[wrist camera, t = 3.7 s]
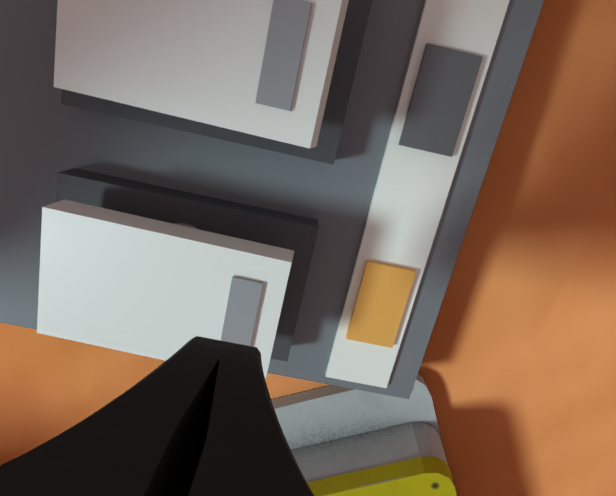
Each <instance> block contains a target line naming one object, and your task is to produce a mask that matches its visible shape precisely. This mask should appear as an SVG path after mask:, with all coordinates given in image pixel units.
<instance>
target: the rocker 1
mask: <svg viewBox="0 0 616 496" xmlns="http://www.w3.org/2000/svg"><path fill="white" fill-rule="evenodd" d="M348 2H349V0H58V2H57V23H56V44H55V65H54V87H56V88H60V89H64V90H69V91H73V92H77V93H81V94H85V95H89V96H93V97H98V98H102V99H106V100H110V101H114V102H118V103H122V104H127V105H131V106H135V107H139V108H143V109H147V110H152V111H156V112H160V113H164V114H168V115H172V116H176V117H181V118H185V119H189V120H193V121H197V122H201V123H206V124H210V125H214V126H218V127H222V128H226V129H230V130H235V131H239V132H243V133H247V134H251V135H255V136H260V137H264V138H268V139H272V140H276V141H280V142H284V143H289V144H293V145H297V146H301V147H305V148H309V149H310V148H313V147H316V146H317V142H318V137H319V133H320V128H321V124H322V119H323V115H324V110H325V106H326V101H327V97H328V92H329V88H330V83H331V79H332V74H333V70H334V65H335V60H336V56H337V51H338V47H339V42H340V38H341V33H342V29H343V24H344V20H345V15H346V11H347V6H348Z"/></svg>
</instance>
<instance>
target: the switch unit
mask: <svg viewBox="0 0 616 496" xmlns="http://www.w3.org/2000/svg"><path fill="white" fill-rule="evenodd" d="M57 2H58V0H0V323H6V324H11V325H16V326H22V327H27V328H32V329H37V316H38V293H39V270H40V247H41V224H42V207H44V206H46V205H49V204H52V203H55V202H58V201H61V200H64V199H65V200H70V201H74V202H78V203H83V204H87V205H92V206H96V207H101V208H105V209H110V210H114V211H119V212H123V213H128V214H132V215H137V216H141V217H146V218H150V219H155V220H159V221H164V222H168V223H173V224H177V225H181V226H186V227H190V228H195V229H199V230H204V231H208V232H213V233H217V234H222V235H226V236H231V237H235V238H240V239H244V240H249V241H253V242H258V243H262V244H267V245H271V246H276V247H280V248H285V249H289V250H293V251H294V255H293V259H292V264H291V268H290V273H289V277H288V282H287V286H286V291H285V296H284V300H283V305H282V309H281V314H280V318H279V323H278V327H277V332H276V336H275V341H274V345H273V350H272V354H271V359H270V363H269V367H268V372H267V373H272V374H277V375H282V376H288V377H293V378H298V379H304V380H309V381H314V382H320V383H325V384H330V385H335V386H341V387H346V388H351V389H357V390H362V391H367V392H373V393H378V394H383V395H389V396H394V397H399V398H405V399H409V398H410V395H411V392H412V390H413V387H414V384H415V381H416V378H417V375H418V372H419V369H420V366H421V363H422V360H423V357H424V354H425V351H426V348H427V345H428V342H429V339H430V336H431V333H432V330H433V327H434V325H435V322H436V319H437V316H438V313H439V310H440V307H441V304H442V301H443V298H444V295H445V292H446V289H447V286H448V283H449V280H450V277H451V274H452V271H453V268H454V265H455V262H456V259H457V257H458V254H459V251H460V248H461V245H462V242H463V239H464V236H465V233H466V230H467V227H468V224H469V221H470V218H471V215H472V212H473V209H474V206H475V203H476V200H477V197H478V194H479V192H480V189H481V186H482V183H483V180H484V177H485V174H486V171H487V168H488V165H489V162H490V159H491V156H492V153H493V150H494V147H495V144H496V141H497V138H498V135H499V132H500V129H501V126H502V124H503V121H504V118H505V115H506V112H507V109H508V106H509V103H510V100H511V97H512V94H513V91H514V88H515V85H516V82H517V79H518V76H519V73H520V70H521V67H522V64H523V61H524V59H525V56H526V53H527V50H528V47H529V44H530V41H531V38H532V35H533V32H534V29H535V26H536V23H537V20H538V17H539V14H540V11H541V8H542V5H543V2H544V0H349V2H348V6H347V11H346V15H345V20H344V24H343V29H342V33H341V38H340V42H339V47H338V51H337V56H336V60H335V65H334V70H333V74H332V79H331V83H330V88H329V92H328V97H327V101H326V106H325V110H324V115H323V119H322V124H321V128H320V133H319V137H318V142H317V146H316V147H313V148H310V149H309V148H305V147H301V146H297V145H293V144H289V143H284V142H280V141H276V140H272V139H268V138H264V137H260V136H255V135H251V134H247V133H243V132H239V131H235V130H230V129H226V128H222V127H218V126H214V125H210V124H206V123H201V122H197V121H193V120H189V119H185V118H181V117H176V116H172V115H168V114H164V113H160V112H156V111H152V110H147V109H143V108H139V107H135V106H131V105H127V104H122V103H118V102H114V101H110V100H106V99H102V98H98V97H93V96H89V95H85V94H81V93H77V92H73V91H69V90H64V89H60V88H56V87H54V65H55V44H56V23H57Z"/></svg>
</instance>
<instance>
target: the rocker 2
mask: <svg viewBox="0 0 616 496" xmlns="http://www.w3.org/2000/svg"><path fill="white" fill-rule="evenodd" d="M293 255H294V251H293V250H289V249H285V248H280V247H276V246H271V245H267V244H262V243H258V242H253V241H249V240H244V239H240V238H235V237H231V236H226V235H222V234H217V233H213V232H208V231H204V230H199V229H195V228H190V227H186V226H181V225H177V224H173V223H168V222H164V221H159V220H155V219H150V218H146V217H141V216H137V215H132V214H128V213H123V212H119V211H114V210H110V209H105V208H101V207H96V206H92V205H87V204H83V203H78V202H74V201H70V200H65V199H64V200H61V201H58V202H55V203H52V204H49V205H46V206H44V207H42V224H41V247H40V270H39V293H38V316H37V333H40V334H45V335H50V336H54V337H59V338H63V339H68V340H73V341H77V342H82V343H87V344H91V345H96V346H100V347H105V348H110V349H114V350H119V351H124V352H128V353H133V354H138V355H142V356H147V357H151V358H156V359H161V360H165V361H166V360H167V359H169V358H170V357H171V356H172V355H173V354H175V353H176V352H177V351H178V350H179V349H180V348H181V347H183V346H184V345H185V344H186V343H187V342H188V341H189V340H191V339H192V338H194V337H196V336H199V337H205V338H210V339H215V340H220V341H226V342H231V343H236V344H242V345H247V346H252V347H257V348H258V350H259V351H260V353H261V361H262V368H263V373H264V377H265V380H266V376H267V372H268V367H269V363H270V359H271V354H272V350H273V345H274V341H275V336H276V332H277V327H278V323H279V318H280V314H281V309H282V305H283V300H284V296H285V291H286V286H287V282H288V277H289V273H290V268H291V264H292V259H293Z"/></svg>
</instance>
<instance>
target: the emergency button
mask: <svg viewBox="0 0 616 496" xmlns="http://www.w3.org/2000/svg"><path fill="white" fill-rule="evenodd" d="M271 401H272V404H273V407H274V410H275V412H276V415H277V418H278V421H279V423H280V426H281V428H282V431H283V433H284V436H285V438H286V440H287V443H288V445H289V447H290V449H291V452H292V454H293V456H294V458H295V460H296V462H297V464H298V466H299V468H300V470H301V472H302V474H303V476H304V478H305V480H306V482H307V484H308V485H309V487H310V489H311V491H312V493H313V494H314V496H457V494H456V490H455V486H454V482H453V478H452V474H451V470H450V468H449V466H448V463H447V460H446V456H445V452H444V448H443V443H442V439H441V435H440V431H439V427H438V422H437V418H436V414H435V410H434V405H433V401H432V397H431V394H430V392H429V389H428V387H427V385H426V383H425V381H424V379H423V377H422V376H421V375H420V374H418V375H417V378H416V381H415V384H414V387H413V390H412V392H411V395H410V398H409V399H405V398H399V397H394V396H389V395H383V394H378V393H373V392H367V391H362V390H357V389H351V388H346V387H341V386H335V385H329V386H325V387H321V388H317V389H312V390H308V391H304V392H300V393H296V394H292V395H288V396H283V397H279V398H275V399H271Z"/></svg>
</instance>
